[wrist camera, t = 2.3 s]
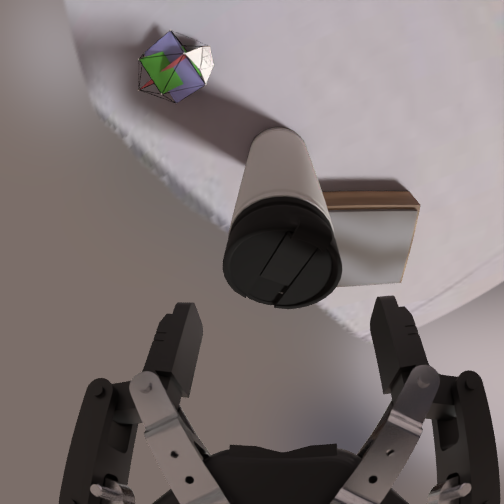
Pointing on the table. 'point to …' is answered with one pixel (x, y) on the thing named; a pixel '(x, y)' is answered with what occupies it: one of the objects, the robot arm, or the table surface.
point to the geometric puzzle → (176, 67)
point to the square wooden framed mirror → (372, 234)
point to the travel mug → (281, 227)
